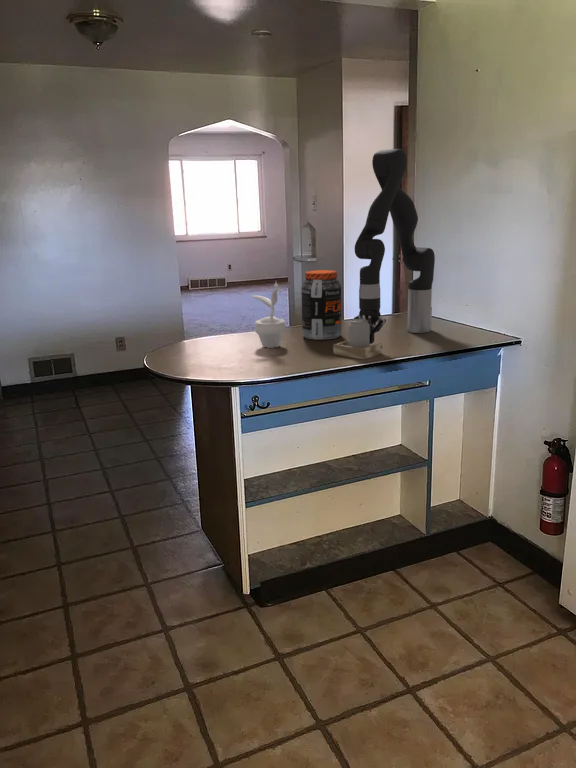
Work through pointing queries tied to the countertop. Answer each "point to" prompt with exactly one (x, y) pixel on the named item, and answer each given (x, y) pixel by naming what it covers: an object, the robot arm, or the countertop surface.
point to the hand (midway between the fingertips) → (369, 343)
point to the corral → (356, 350)
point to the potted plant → (270, 323)
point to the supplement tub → (321, 305)
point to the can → (359, 333)
